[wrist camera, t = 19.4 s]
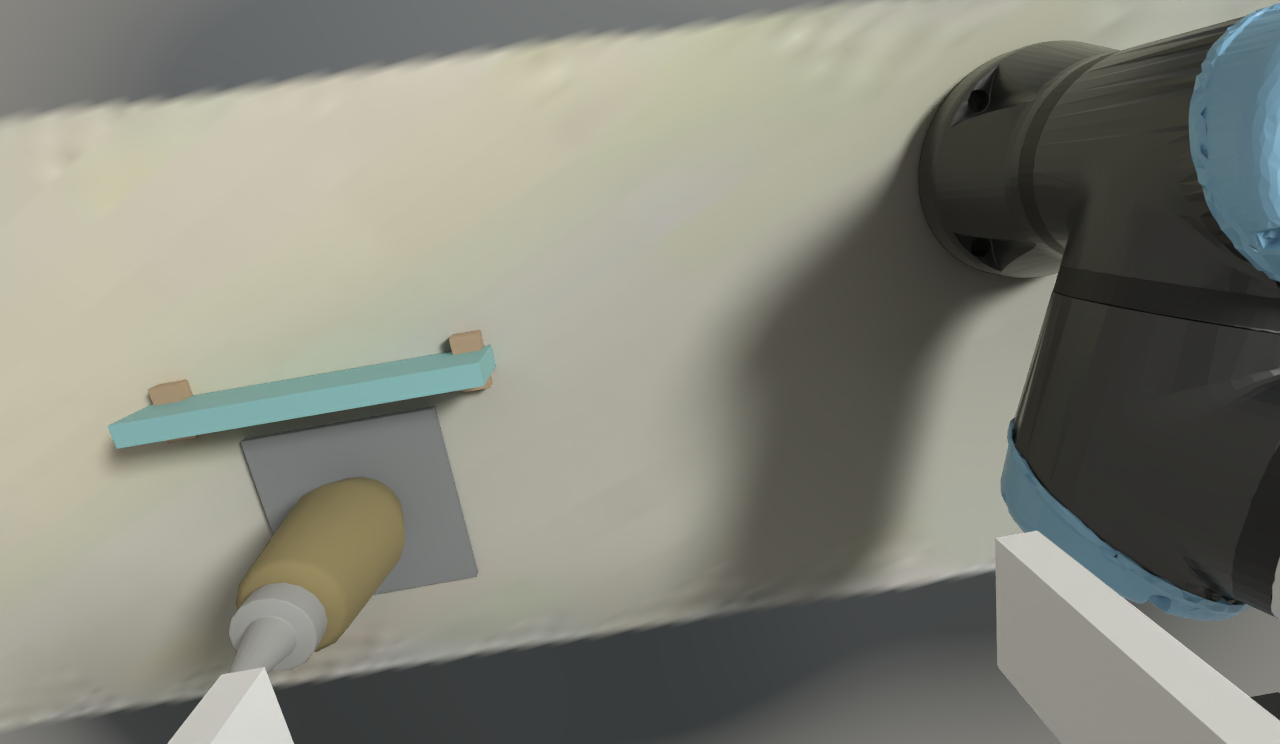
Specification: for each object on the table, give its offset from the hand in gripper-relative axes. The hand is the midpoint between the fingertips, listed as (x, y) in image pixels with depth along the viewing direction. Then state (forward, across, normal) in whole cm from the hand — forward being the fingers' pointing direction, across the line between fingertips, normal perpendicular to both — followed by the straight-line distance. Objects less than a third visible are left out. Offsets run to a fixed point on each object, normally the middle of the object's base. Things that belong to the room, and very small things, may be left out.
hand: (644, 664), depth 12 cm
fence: (+37, -21, -2) cm, 42 cm away
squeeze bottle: (+36, -21, -12) cm, 43 cm away
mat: (+37, -21, -12) cm, 44 cm away
